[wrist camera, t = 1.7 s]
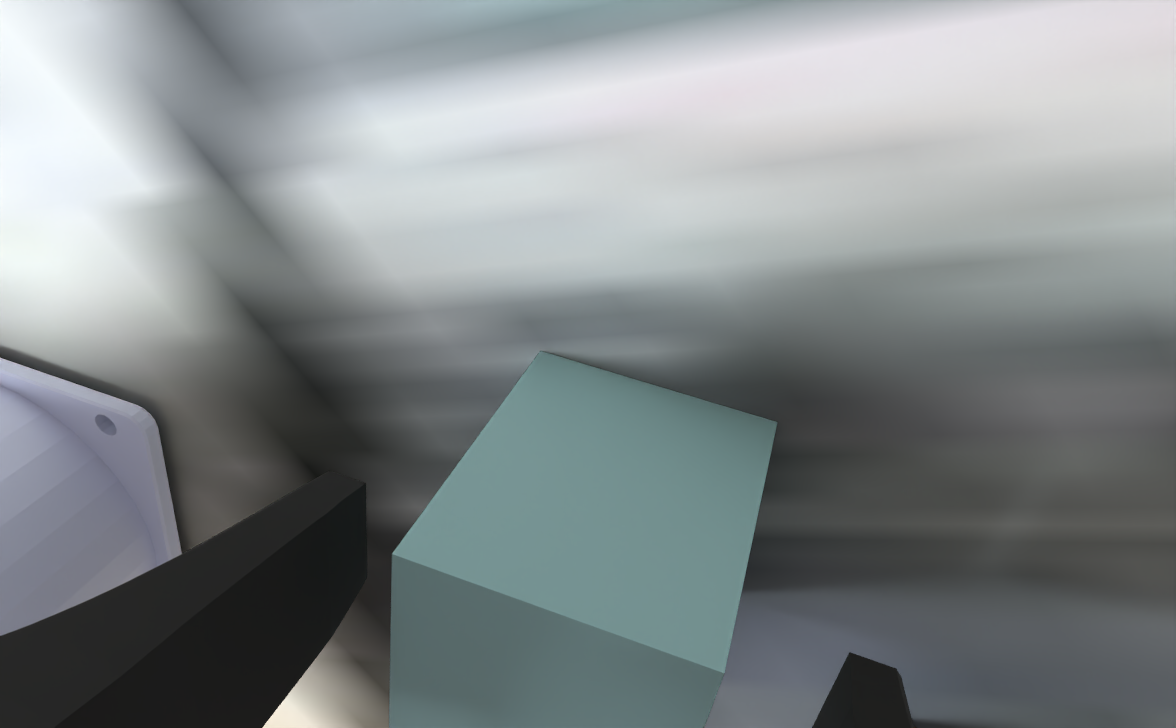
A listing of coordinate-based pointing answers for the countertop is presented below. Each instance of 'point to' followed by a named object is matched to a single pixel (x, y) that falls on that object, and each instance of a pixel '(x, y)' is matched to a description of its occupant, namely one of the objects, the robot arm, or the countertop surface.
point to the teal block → (579, 560)
